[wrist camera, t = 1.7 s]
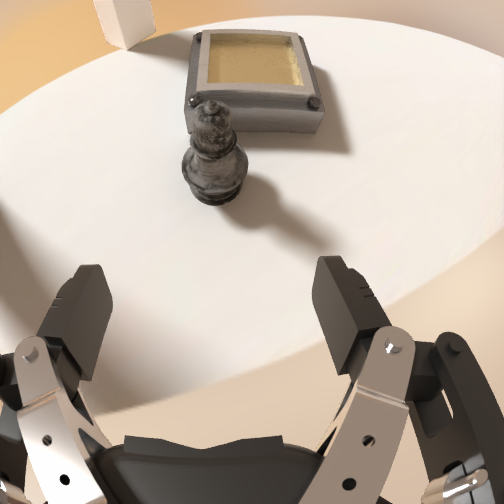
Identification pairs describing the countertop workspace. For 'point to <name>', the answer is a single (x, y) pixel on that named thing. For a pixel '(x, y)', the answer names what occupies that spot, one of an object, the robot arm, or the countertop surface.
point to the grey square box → (255, 80)
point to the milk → (125, 21)
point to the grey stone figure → (214, 155)
